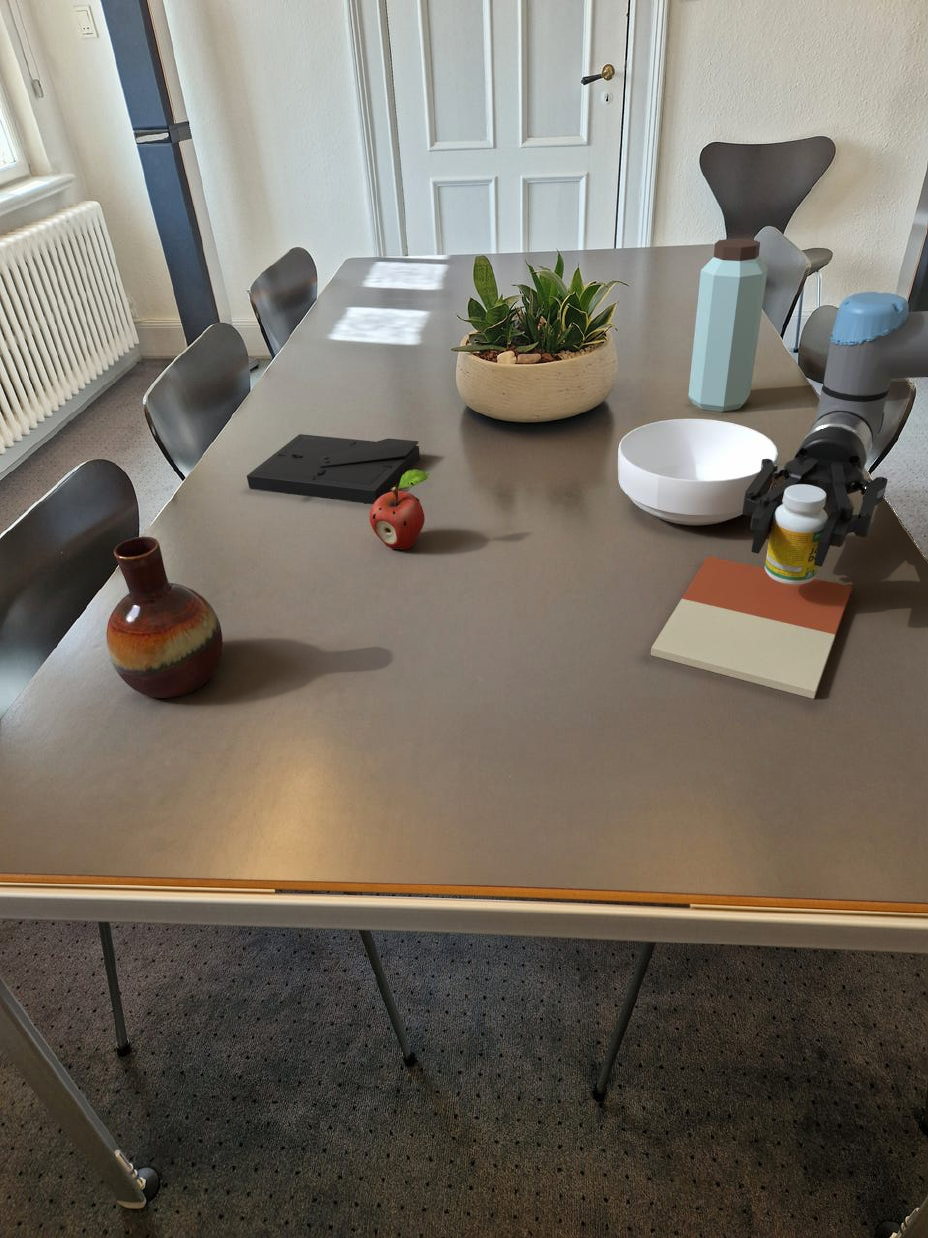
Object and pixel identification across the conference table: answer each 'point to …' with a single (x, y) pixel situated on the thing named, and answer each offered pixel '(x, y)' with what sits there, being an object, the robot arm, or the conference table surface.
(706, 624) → the sorting mat
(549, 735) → the conference table surface
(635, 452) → the bowl
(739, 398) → the water bottle
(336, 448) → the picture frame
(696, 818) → the conference table surface
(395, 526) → the apple
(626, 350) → the conference table surface
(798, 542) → the supplement bottle
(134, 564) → the vase
